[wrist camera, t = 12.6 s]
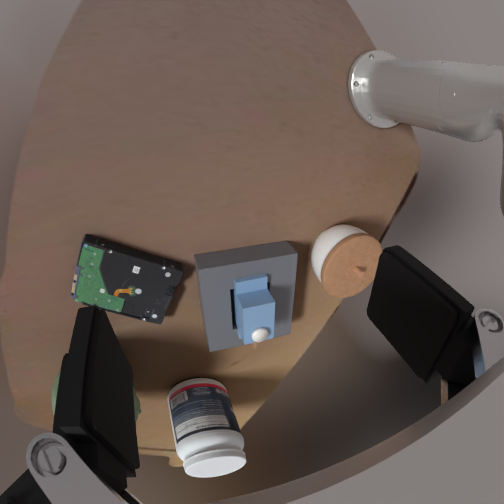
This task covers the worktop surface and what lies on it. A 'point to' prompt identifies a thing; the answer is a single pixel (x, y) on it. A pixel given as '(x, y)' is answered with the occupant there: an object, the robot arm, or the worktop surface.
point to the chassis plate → (222, 280)
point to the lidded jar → (345, 260)
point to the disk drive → (124, 280)
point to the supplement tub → (205, 428)
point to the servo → (253, 309)
